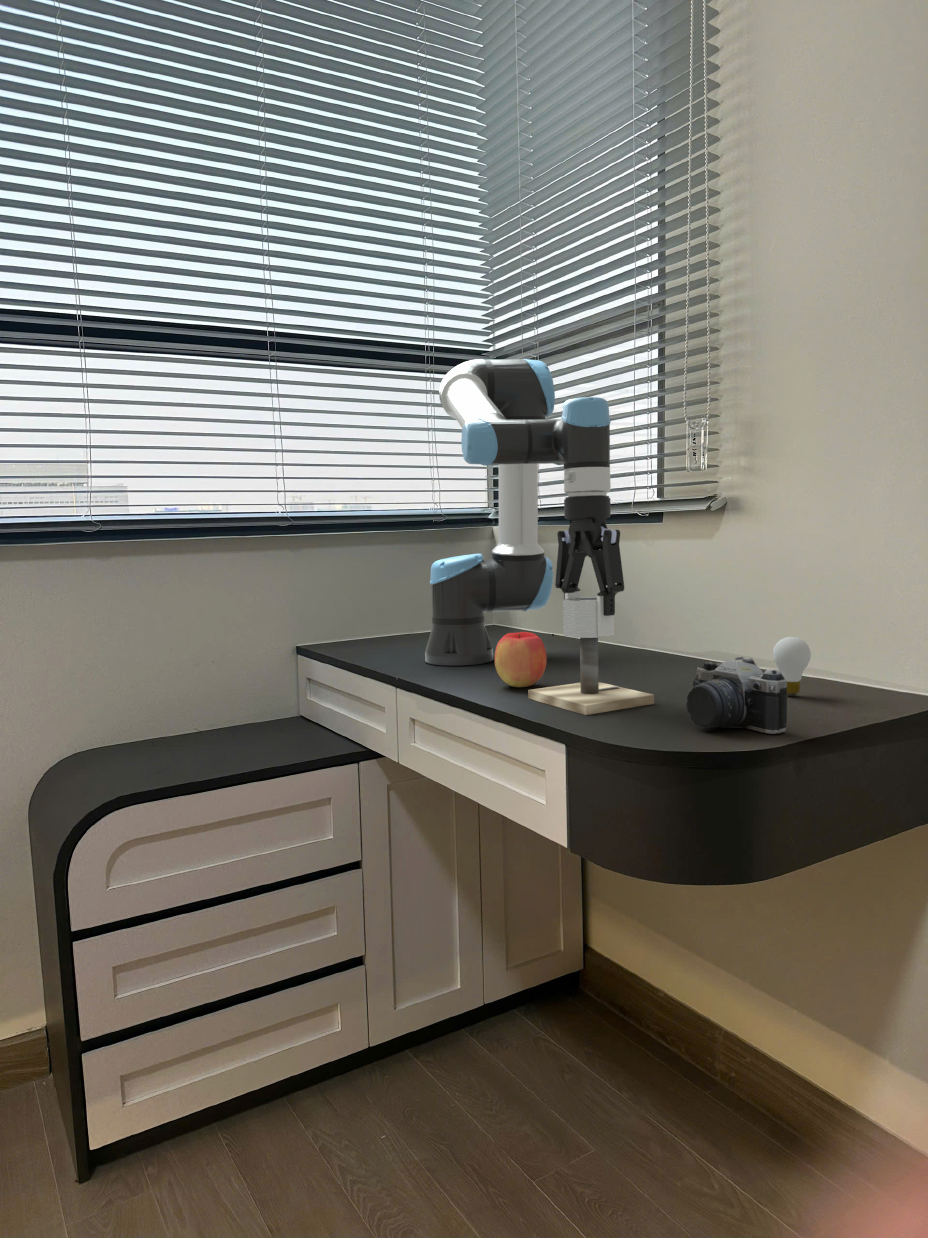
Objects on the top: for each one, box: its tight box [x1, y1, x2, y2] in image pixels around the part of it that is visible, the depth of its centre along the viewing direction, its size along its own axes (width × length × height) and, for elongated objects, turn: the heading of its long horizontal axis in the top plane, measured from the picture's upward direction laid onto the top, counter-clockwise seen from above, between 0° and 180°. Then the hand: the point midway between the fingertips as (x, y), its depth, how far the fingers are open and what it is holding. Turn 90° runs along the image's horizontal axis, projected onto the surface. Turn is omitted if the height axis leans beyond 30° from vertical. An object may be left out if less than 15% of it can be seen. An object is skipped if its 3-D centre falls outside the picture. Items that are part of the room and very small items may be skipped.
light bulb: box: [772, 636, 812, 697], centre depth 143 cm, size 6×6×10 cm
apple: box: [494, 631, 548, 688], centre depth 159 cm, size 10×10×10 cm
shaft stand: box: [527, 638, 655, 716], centre depth 144 cm, size 16×14×11 cm
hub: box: [562, 596, 615, 639], centre depth 143 cm, size 8×8×6 cm
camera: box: [686, 656, 788, 735], centre depth 123 cm, size 16×10×10 cm, turn 29°
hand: (588, 632), depth 143 cm, fingers closed on hub, 8 cm apart
